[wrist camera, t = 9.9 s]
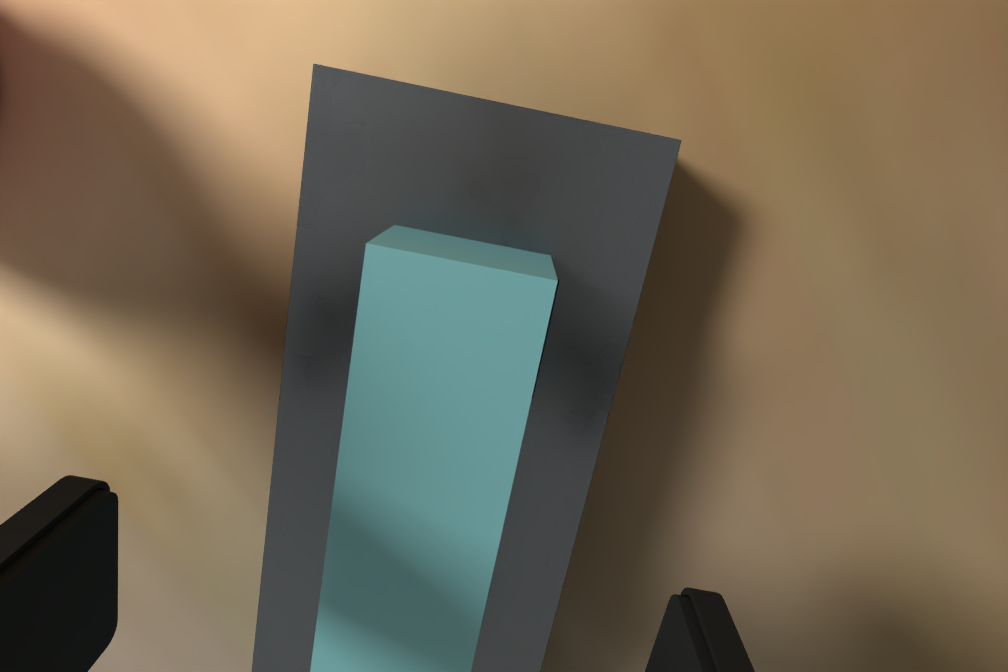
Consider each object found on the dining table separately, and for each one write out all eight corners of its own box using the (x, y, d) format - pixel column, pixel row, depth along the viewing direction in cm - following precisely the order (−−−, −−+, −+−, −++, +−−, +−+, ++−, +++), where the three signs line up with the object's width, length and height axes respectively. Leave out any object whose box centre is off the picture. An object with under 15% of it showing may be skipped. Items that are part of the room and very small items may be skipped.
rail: (349, 77, 16) (313, 63, 13) (653, 140, 17) (681, 139, 14) (283, 641, 22) (247, 717, 19) (516, 682, 22) (515, 763, 19)
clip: (414, 212, 17) (365, 242, 12) (545, 238, 17) (557, 280, 12) (358, 583, 21) (301, 738, 15) (468, 602, 21) (450, 763, 15)
